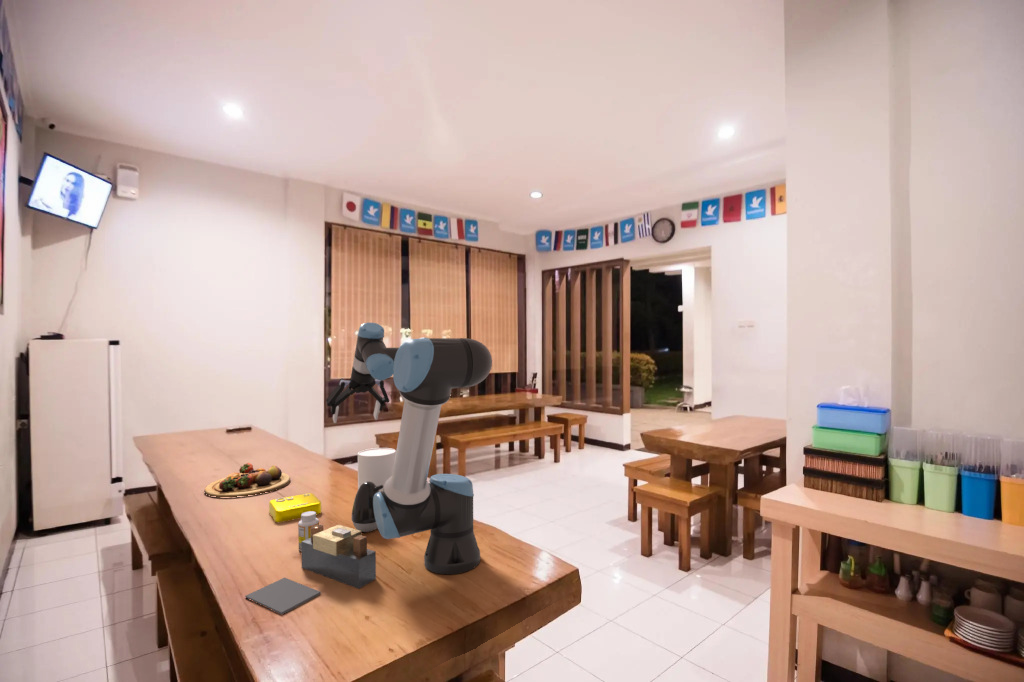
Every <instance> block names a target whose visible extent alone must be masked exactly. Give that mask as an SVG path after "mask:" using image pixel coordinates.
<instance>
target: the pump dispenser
mask: <svg viewBox="0 0 1024 682" xmlns="http://www.w3.org/2000/svg"><path fill="white" fill-rule="evenodd" d="M382 488H383V485H380V486H376V485H375V484H374V483H373V482H365V483H363V484H362V485H361V486H360V487H359V489H358V488H357V491H356V493H355V497H354V501H353V504H352V508H351V521H352V524H353V526H354V529H356V530H360V531H362V532H363V533H370V532H373V530H374V531H375V530H378V527H377V524H376V520H375V515H374V508H373V497H374V495H375V494H376V493H378V492H379V490H380V489H382ZM369 531H370V532H369Z"/></svg>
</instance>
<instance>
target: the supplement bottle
mask: <svg viewBox="0 0 1024 682" xmlns="http://www.w3.org/2000/svg"><path fill="white" fill-rule="evenodd" d="M314 525H320V519H319V518H317V515H316V512H314V511H309V512H305V513H302V514H301V518H300V520H299V521H298V525H297V526H298V527H297V528H298V530H297V532H298V533H297V534H298V535H297V536H298V550H299V551H300V552H302V546H301V542H302V541H304V540H307V539H309V538H311V527H312V526H314Z"/></svg>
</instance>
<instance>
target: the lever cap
mask: <svg viewBox="0 0 1024 682" xmlns="http://www.w3.org/2000/svg"><path fill="white" fill-rule="evenodd" d="M359 535H362V531H360V530H357V529H356V528H354V527H353V528H352V527H348V526H345V525H341V524H337V525H334V526H331V527H329V528H327V529H323V531H321V532H319V533H316V534H314V535H313V549H316V550H319V551H322V552H325V553H328V554H331V555H334V556H338V555H340V554H342V553H344V552H346V551H348V550H351V549H353V538H355V537H357V536H359ZM362 536H363V535H362Z"/></svg>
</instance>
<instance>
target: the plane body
mask: <svg viewBox="0 0 1024 682" xmlns="http://www.w3.org/2000/svg"><path fill="white" fill-rule="evenodd" d="M321 531H324V525H323V524H319V525H314V526H312V527H311V538H309V539H307V540H304V541H302V542H301V546H302V551H301V569H304V570H307V571H309V572H312V573H315V574H318V575H321V576H322V577H325V578H328V579H331V580H334V581H336V582H339V583H342V584H344V585H347V586H350V587H353V588H355V589H361V588H363V587H364V586H366V585H368V584H370V583H371V582H373V581H375V580H377V572H376V571H377V565H376V564H377V561H376V560H377V554H376V550H372V549H369V548H368V537H367V536H365V535H359V536H357V537H355V538H353V549H351V550H348V551H346V552H344V553H342V554H340V555H338V556H334V555H331V554H328V553H325V552H322V551H319V550H316V549H313V535H314V534H316V533H319V532H321Z"/></svg>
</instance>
